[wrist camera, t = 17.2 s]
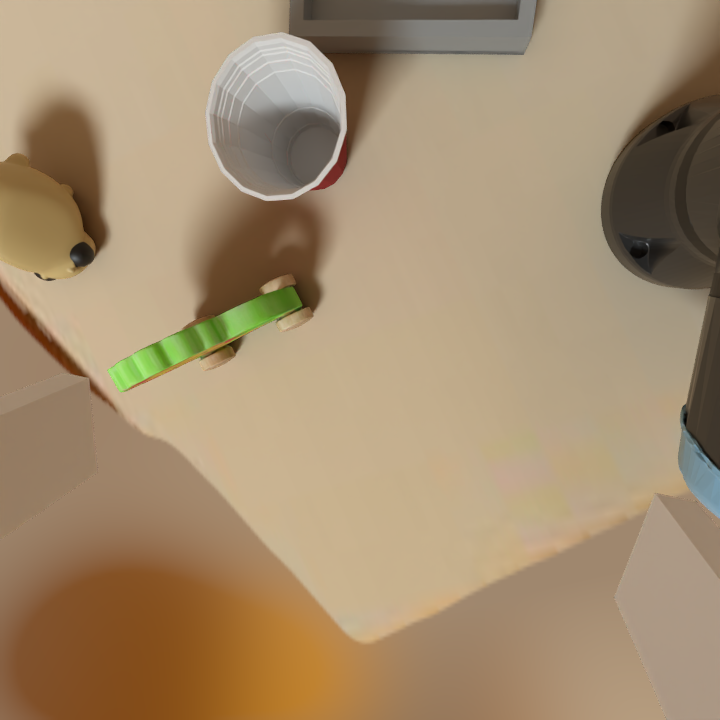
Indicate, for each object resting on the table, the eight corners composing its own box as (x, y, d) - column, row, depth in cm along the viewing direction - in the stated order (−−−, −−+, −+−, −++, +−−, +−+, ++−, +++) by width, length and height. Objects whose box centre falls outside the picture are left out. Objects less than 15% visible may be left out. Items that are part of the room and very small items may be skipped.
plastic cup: (249, 115, 42) (180, 59, 30) (356, 80, 40) (326, 5, 28) (278, 229, 44) (223, 217, 32) (381, 201, 42) (363, 177, 30)
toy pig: (58, 241, 52) (29, 312, 46) (-51, 155, 42) (-104, 233, 37) (125, 218, 50) (103, 291, 44) (27, 122, 40) (-18, 200, 34)
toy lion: (296, 269, 44) (229, 272, 30) (319, 317, 45) (266, 343, 30) (175, 333, 48) (64, 364, 34) (199, 376, 49) (100, 425, 34)
